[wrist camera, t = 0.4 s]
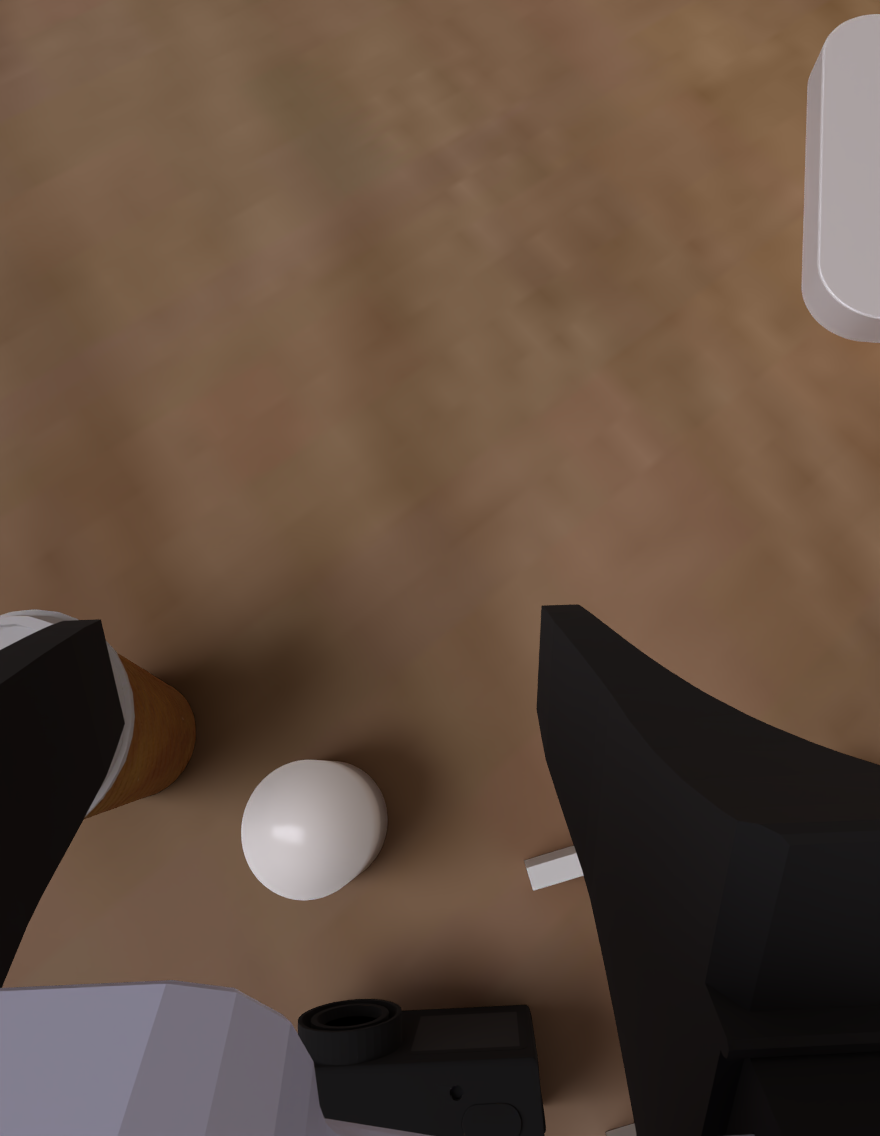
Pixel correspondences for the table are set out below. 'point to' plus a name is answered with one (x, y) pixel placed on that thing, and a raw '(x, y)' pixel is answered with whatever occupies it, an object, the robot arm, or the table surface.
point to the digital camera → (426, 1068)
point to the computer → (844, 183)
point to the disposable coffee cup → (129, 722)
